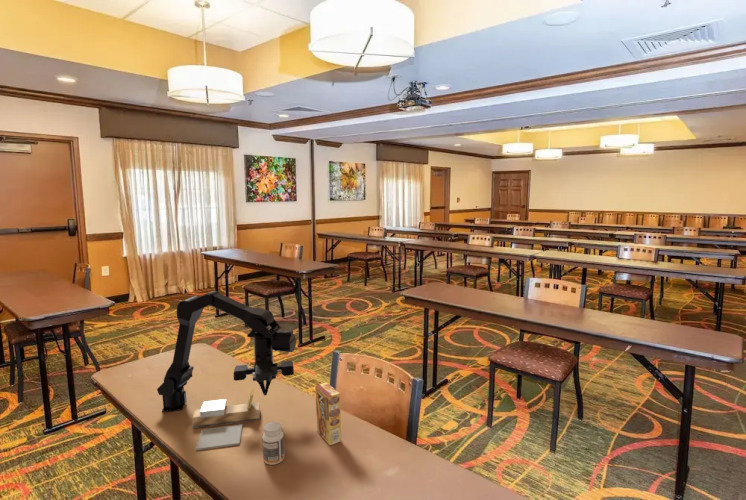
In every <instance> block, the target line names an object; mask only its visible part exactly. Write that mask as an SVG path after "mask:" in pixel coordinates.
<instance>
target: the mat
mask: <svg viewBox="0 0 746 500" xmlns="http://www.w3.org/2000/svg"><path fill="white" fill-rule="evenodd" d="M242 430H243V424H236V425H235V424H234V425H224V426H218V427H211V428H210V427H209V428H203V429H201V430H200V434H199V437H198V440H197V442H196V447H195V451H196V452H197V451H203V450H211V449H218V448H226V447H232V446H233V447H234V446H239V445H240V444H241V439H242V438H241V437H242Z"/></svg>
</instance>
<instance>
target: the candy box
mask: <svg viewBox="0 0 746 500" xmlns="http://www.w3.org/2000/svg"><path fill="white" fill-rule="evenodd" d="M314 387H315V407H316V425H317V426H316V427H317V430H316V431H317V433H318V434H319V435H320V436H321V437H322V439H323V440H324V441H325V442H326V443H327V444H328V445H329V446H332V445H335V444H338V443H341V442H342V422H341V421H342V420H341V393H340V392H339V391H338V390H336V388H334V387H333V386H332V385H331V384H330V383H328V382H323V383H320V384H316V385H315V386H314Z"/></svg>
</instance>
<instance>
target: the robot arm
mask: <svg viewBox="0 0 746 500" xmlns="http://www.w3.org/2000/svg"><path fill="white" fill-rule="evenodd" d="M208 306H211V307H213V308H215V309H217V310H219V311H222V312H223V313H226V314H228V315H231V316H232V317H234V318H237V319H238V320H240V321H242V322H243V323H244V324H245V326H246V327H248V328H249V329H251V331H249V333H248V334H247V335H246V337H248V338H253V348H254V350H253V351H254V352H253V353H254V363H253V367H248V364H242V365H241V364H240V365H236V366H235V367H234V370H233V381H235V382H237V381H245V379H246V378H247V375H251V376H252V381H253V382H257V384H258V385H259V387H260V389H261V392H262V393H263V396H267V395H268V392H269V389H270V386H271V383H272V381H273V380H276V379H277V375H278V373H279V372H281V375H282V376H283V377H288V376H293V375H294V374H295V373H294V372H295V371H294V362H293V360H286V361H285V360H284V361H280V362H281V363H280V365H278V363H277V362H276V363H274V353H273V352H274V351H275V352H284V353H293V352H294V351H295V349H296V346H297V338H296V335H295V334H294V330H291V329H290V330H289V329H288V330H281V329H282V327H281V326H280V324H279V323H278V321H277V320H276V319H275V317H274V315H273V312H272V311H270V310H268V309H264V308H261V307H252V306H249V305H246V304H245V303H242V302H240V301H237V300H235V299H233V298H231V297H229V296H227V295H224V294H222V293H220V292H219V291H217V290H211V291H209V292H207V293H205V294H203V295H201V296H198V295H194V296H190V297H188V298H186V299H184V300H180V301H179V302H178V303H177V306H176V318H177V321H178V323H179V325H178V326H179V327H178V332H177V337H176V343H175V346H174V347H175V348H174V354H173V358H172V362H171V364H170V366H169V367H168V369H167V371H166V372H165V375H164V378H163V382H162V383H161V384H160V385H159V387H157V388H156V390H157V393H158V396H162V405H163V406H162V407H163V408H162V410H161V412H162V413H165V412H174V411H182V410H184V407H185V406H186V404H187V392H186V390H185V386H187V384H188V381H190V379H191V378H192V377H193V372H194V366H192V365H191V364H190V362H189V360H190V354H191V349H192V344H193V339H194V333H195V327H196V324H197V322H198V320H199V319H200V318H201V316H202V313H203V311H204V308H206V307H208ZM268 328H269V329H268Z"/></svg>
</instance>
